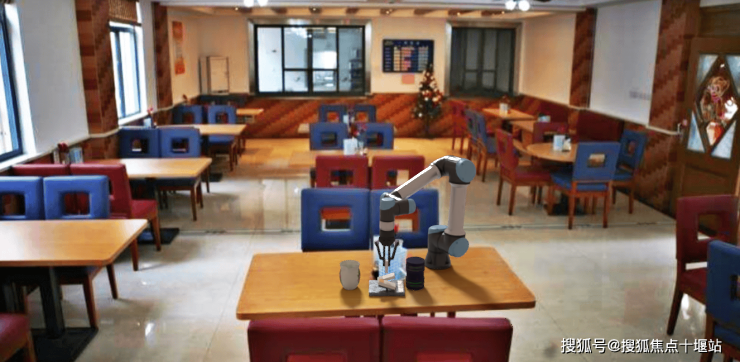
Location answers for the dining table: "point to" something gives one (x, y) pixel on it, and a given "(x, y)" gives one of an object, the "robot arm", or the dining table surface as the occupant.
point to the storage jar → (415, 273)
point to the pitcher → (349, 274)
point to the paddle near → (386, 283)
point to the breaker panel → (386, 289)
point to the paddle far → (388, 276)
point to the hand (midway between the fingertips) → (386, 272)
